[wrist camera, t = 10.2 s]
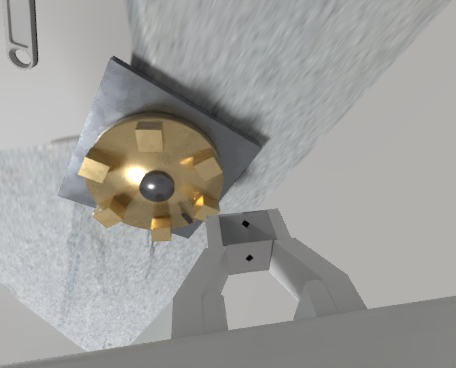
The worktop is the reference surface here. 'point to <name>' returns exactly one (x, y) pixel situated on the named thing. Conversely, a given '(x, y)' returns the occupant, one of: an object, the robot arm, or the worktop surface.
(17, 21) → the adjustable wrench
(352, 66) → the worktop surface
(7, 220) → the worktop surface
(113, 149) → the ring nut
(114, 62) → the base plate
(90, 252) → the worktop surface
